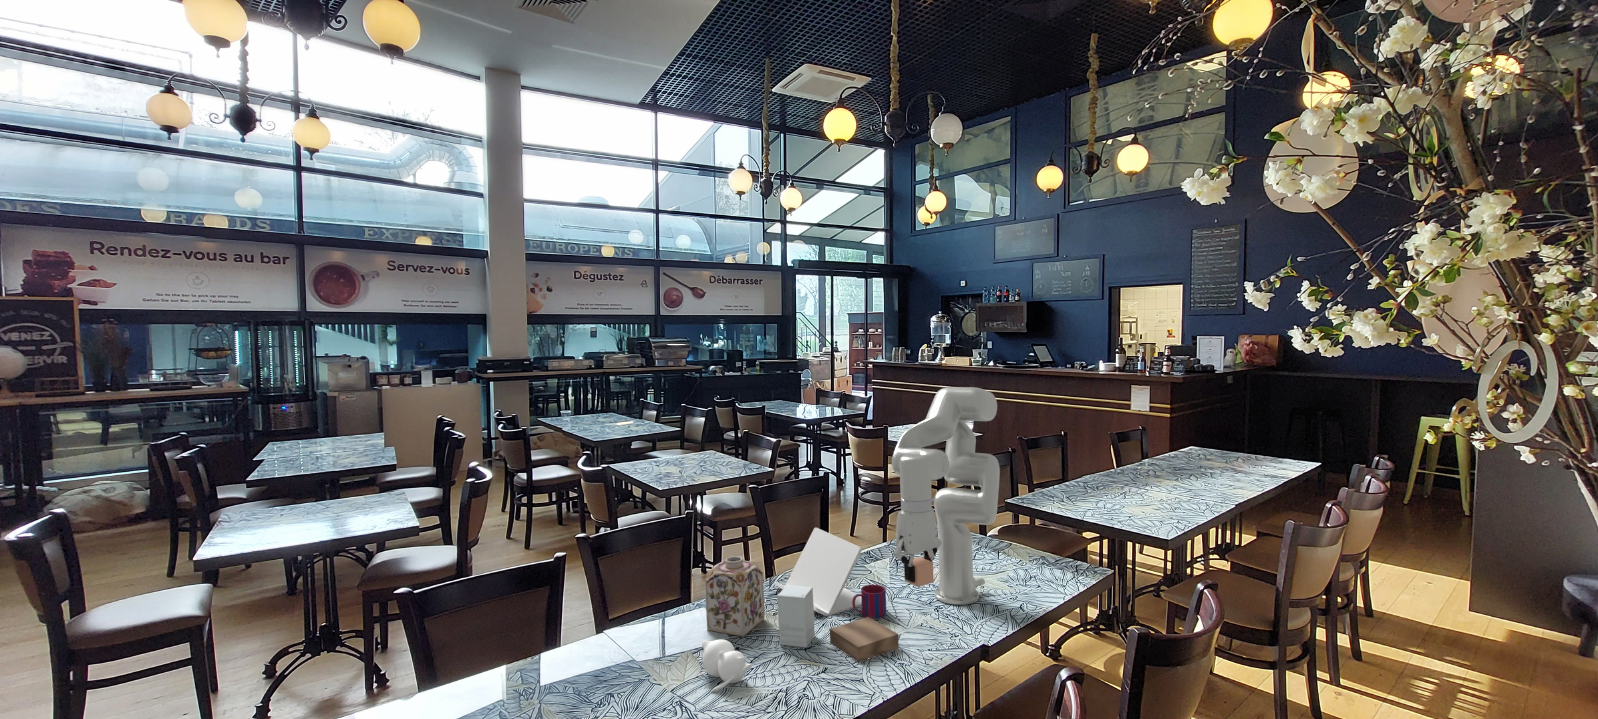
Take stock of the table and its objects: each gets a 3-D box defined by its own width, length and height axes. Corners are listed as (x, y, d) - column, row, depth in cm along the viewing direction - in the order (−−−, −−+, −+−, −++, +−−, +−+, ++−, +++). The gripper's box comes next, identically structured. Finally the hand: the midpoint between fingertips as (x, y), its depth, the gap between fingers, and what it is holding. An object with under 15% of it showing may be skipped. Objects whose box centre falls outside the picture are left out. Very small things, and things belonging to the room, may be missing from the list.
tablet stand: (823, 578, 207) (821, 525, 207) (870, 604, 185) (868, 545, 185) (773, 590, 198) (771, 535, 198) (816, 619, 176) (814, 557, 176)
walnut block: (868, 632, 168) (868, 616, 168) (898, 650, 158) (898, 633, 158) (830, 644, 162) (829, 628, 162) (858, 663, 152) (858, 647, 152)
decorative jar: (765, 619, 177) (763, 554, 176) (744, 637, 166) (742, 568, 166) (728, 613, 182) (725, 549, 182) (705, 630, 171) (702, 562, 171)
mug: (890, 615, 177) (889, 591, 177) (857, 622, 173) (856, 597, 173) (879, 606, 183) (878, 582, 183) (847, 612, 180) (846, 588, 179)
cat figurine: (743, 644, 142) (712, 625, 151) (710, 684, 137) (679, 663, 146) (761, 669, 146) (729, 649, 155) (728, 709, 140) (698, 687, 149)
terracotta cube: (919, 576, 164) (919, 556, 163) (933, 582, 159) (933, 562, 159) (904, 580, 161) (903, 560, 161) (918, 587, 157) (917, 566, 156)
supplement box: (815, 635, 166) (814, 586, 166) (806, 648, 159) (804, 597, 159) (788, 632, 169) (786, 583, 169) (778, 644, 162) (776, 594, 162)
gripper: (932, 496, 167) (934, 566, 168) (879, 507, 158) (882, 581, 159) (952, 502, 160) (955, 574, 161) (899, 514, 152) (901, 591, 152)
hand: (918, 577), depth 160 cm, fingers closed on terracotta cube, 4 cm apart
